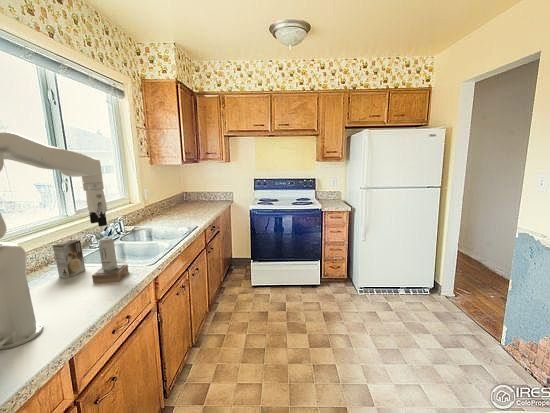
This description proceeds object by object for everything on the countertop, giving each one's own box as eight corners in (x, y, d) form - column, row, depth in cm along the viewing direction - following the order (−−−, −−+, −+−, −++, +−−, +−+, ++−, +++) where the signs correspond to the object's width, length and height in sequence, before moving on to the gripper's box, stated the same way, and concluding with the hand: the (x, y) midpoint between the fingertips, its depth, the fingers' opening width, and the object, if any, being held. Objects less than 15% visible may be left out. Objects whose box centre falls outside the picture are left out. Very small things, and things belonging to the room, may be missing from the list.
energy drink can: (99, 271, 128) (94, 240, 125) (109, 266, 134) (105, 236, 131) (110, 272, 127) (106, 240, 124) (120, 266, 133) (116, 236, 130)
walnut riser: (118, 282, 127) (117, 273, 126) (93, 283, 126) (91, 274, 125) (128, 271, 138) (127, 263, 137) (105, 273, 136) (103, 265, 136)
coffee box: (75, 269, 142) (70, 239, 139) (85, 270, 141) (80, 240, 138) (58, 277, 133) (52, 245, 130) (69, 278, 132) (63, 246, 129)
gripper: (110, 186, 119) (115, 225, 123) (95, 184, 130) (100, 220, 133) (90, 188, 114) (96, 229, 117) (77, 186, 125) (82, 223, 128)
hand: (98, 224), depth 125 cm, fingers open, 9 cm apart
